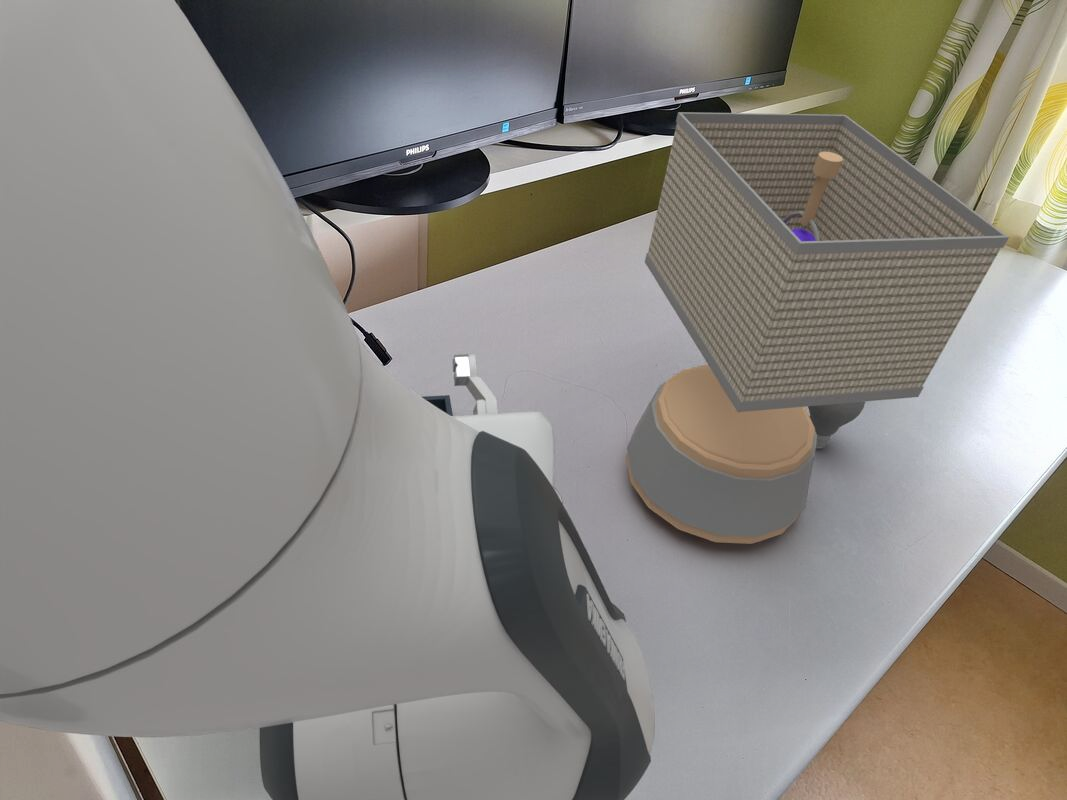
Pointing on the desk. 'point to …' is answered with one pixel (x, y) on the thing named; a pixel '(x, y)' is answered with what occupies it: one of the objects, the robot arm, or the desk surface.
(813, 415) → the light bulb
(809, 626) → the desk surface
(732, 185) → the desk lamp
